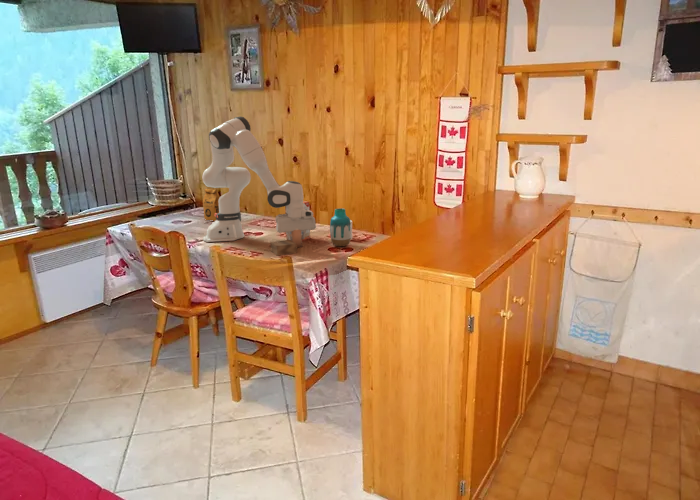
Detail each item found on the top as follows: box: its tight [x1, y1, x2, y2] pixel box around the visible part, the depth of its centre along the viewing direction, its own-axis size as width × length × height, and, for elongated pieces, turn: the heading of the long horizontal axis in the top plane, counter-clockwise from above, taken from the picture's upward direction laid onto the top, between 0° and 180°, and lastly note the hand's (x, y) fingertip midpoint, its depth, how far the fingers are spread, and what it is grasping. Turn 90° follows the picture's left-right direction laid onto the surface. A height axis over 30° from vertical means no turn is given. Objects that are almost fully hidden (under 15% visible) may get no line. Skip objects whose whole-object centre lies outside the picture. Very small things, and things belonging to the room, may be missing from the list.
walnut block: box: [270, 239, 298, 256], centre depth 253 cm, size 10×10×5 cm
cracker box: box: [284, 200, 311, 242], centre depth 274 cm, size 14×6×21 cm, turn 147°
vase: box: [329, 207, 351, 247], centre depth 261 cm, size 11×11×19 cm
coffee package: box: [202, 188, 221, 221], centre depth 330 cm, size 10×12×22 cm
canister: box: [291, 229, 303, 248], centre depth 263 cm, size 5×5×10 cm
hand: (296, 239), depth 264 cm, fingers closed on canister, 5 cm apart
